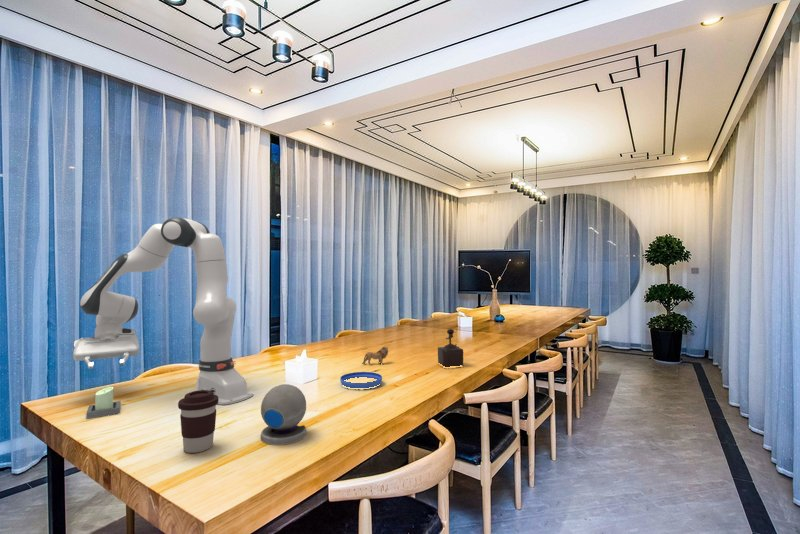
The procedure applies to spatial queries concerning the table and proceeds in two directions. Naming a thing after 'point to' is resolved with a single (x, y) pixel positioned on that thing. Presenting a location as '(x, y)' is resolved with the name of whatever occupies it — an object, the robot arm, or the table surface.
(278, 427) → the webcam
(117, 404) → the holder collar
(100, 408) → the candle
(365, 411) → the table surface
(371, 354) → the lion figurine
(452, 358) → the black block with stem
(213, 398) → the coffee cup
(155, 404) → the table surface
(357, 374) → the blue ring
